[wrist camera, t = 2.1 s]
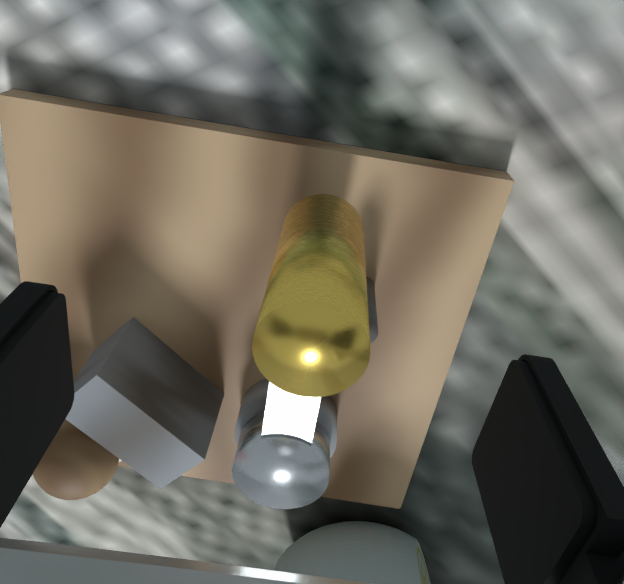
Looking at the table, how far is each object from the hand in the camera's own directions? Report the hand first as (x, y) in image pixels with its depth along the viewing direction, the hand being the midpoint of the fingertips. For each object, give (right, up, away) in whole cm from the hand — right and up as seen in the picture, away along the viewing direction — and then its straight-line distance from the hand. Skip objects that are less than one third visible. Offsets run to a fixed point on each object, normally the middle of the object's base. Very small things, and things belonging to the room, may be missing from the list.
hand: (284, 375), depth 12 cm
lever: (0, -1, +12) cm, 12 cm away
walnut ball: (-11, -5, +17) cm, 21 cm away
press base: (-3, 0, +16) cm, 16 cm away
